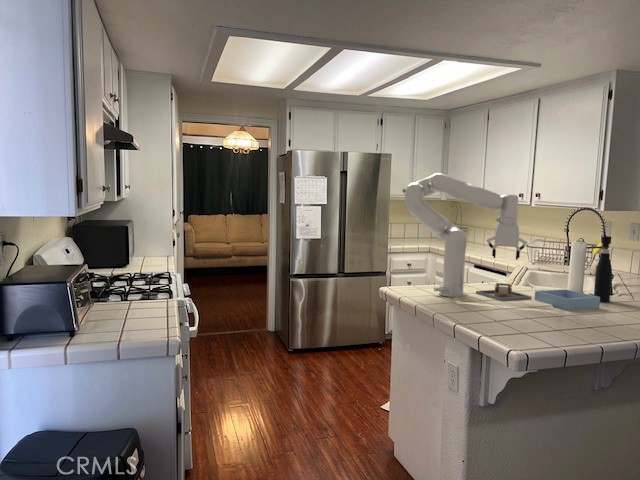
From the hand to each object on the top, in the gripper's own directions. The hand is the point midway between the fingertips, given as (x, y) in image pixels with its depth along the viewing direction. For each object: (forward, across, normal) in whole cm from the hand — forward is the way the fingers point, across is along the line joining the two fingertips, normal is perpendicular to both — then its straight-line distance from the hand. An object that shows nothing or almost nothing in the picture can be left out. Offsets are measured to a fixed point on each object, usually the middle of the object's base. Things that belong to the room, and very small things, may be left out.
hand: (505, 258), depth 222 cm
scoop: (+17, 0, -1) cm, 17 cm away
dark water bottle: (+18, +43, +16) cm, 49 cm away
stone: (+17, 0, 0) cm, 17 cm away
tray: (+18, 0, -1) cm, 18 cm away
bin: (+18, +26, -3) cm, 32 cm away
